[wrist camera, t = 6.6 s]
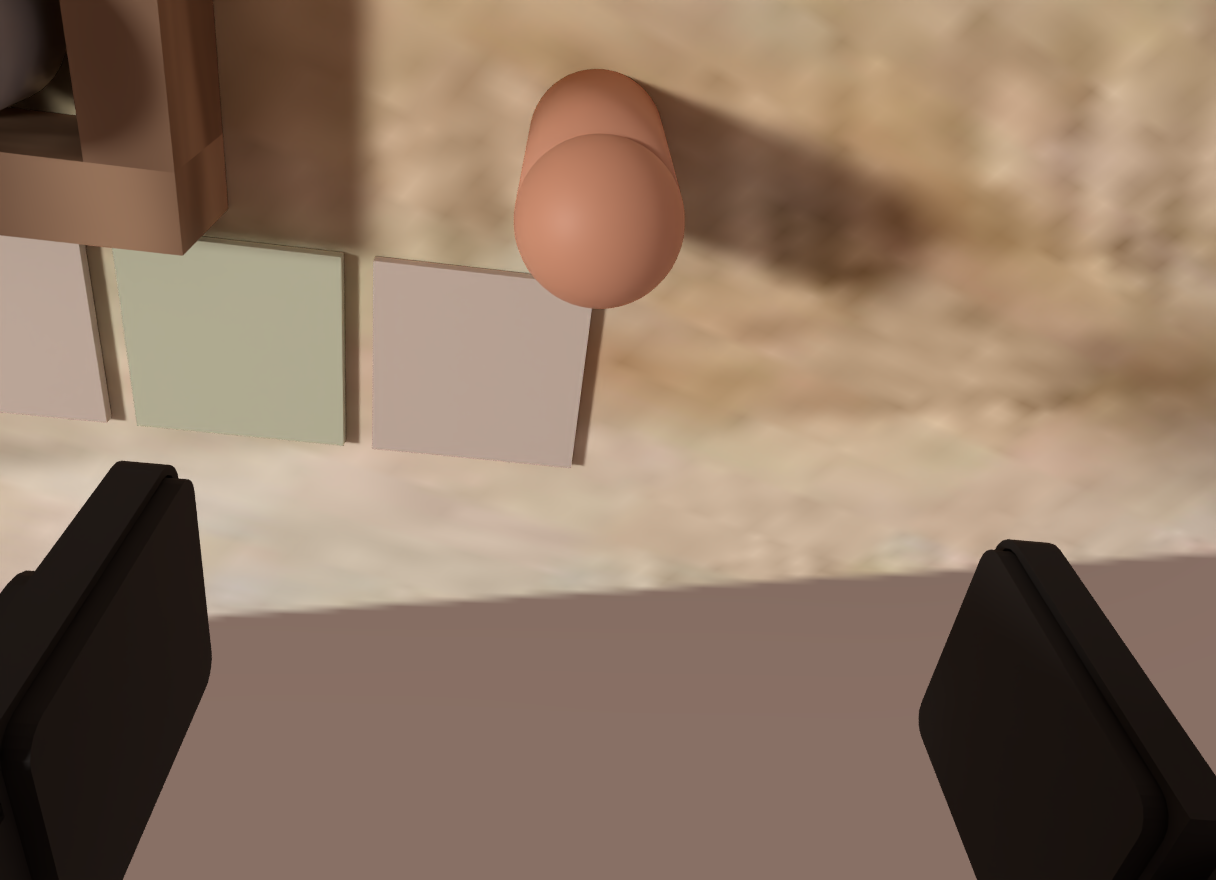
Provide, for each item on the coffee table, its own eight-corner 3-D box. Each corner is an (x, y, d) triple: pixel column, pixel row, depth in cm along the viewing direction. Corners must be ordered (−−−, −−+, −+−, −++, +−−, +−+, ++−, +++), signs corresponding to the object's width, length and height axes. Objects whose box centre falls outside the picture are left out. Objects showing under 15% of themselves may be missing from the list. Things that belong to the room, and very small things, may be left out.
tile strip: (595, 281, 32) (594, 286, 31) (571, 461, 35) (570, 468, 35) (-158, 195, 30) (-166, 199, 29) (-101, 396, 33) (-109, 401, 33)
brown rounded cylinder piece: (673, 78, 29) (707, 173, 20) (652, 211, 31) (676, 346, 22) (535, 60, 28) (515, 149, 20) (523, 196, 30) (501, 326, 22)
